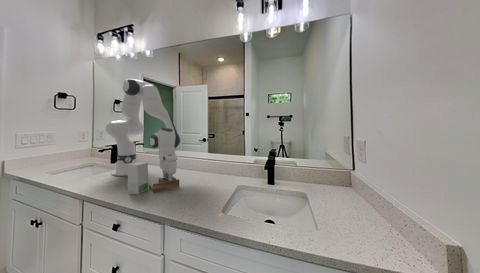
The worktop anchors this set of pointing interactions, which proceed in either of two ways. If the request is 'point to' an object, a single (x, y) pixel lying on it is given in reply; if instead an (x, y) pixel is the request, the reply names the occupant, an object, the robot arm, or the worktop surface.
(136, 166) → the skincare box
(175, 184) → the hook shelf
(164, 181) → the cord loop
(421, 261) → the worktop surface
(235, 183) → the worktop surface
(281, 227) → the worktop surface
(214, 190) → the worktop surface
